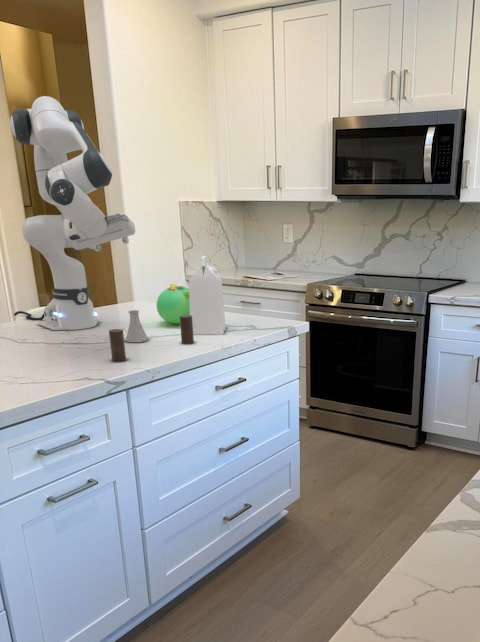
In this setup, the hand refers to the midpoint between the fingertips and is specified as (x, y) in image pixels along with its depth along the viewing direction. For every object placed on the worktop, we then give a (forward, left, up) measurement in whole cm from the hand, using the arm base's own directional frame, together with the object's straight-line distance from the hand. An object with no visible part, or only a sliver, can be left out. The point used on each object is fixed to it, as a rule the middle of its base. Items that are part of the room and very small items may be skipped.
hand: (112, 245), depth 194 cm
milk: (+12, +29, -31) cm, 44 cm away
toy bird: (-5, +32, -31) cm, 45 cm away
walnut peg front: (+20, -17, -31) cm, 41 cm away
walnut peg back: (+20, +11, -31) cm, 38 cm away
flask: (+4, +3, -31) cm, 31 cm away
